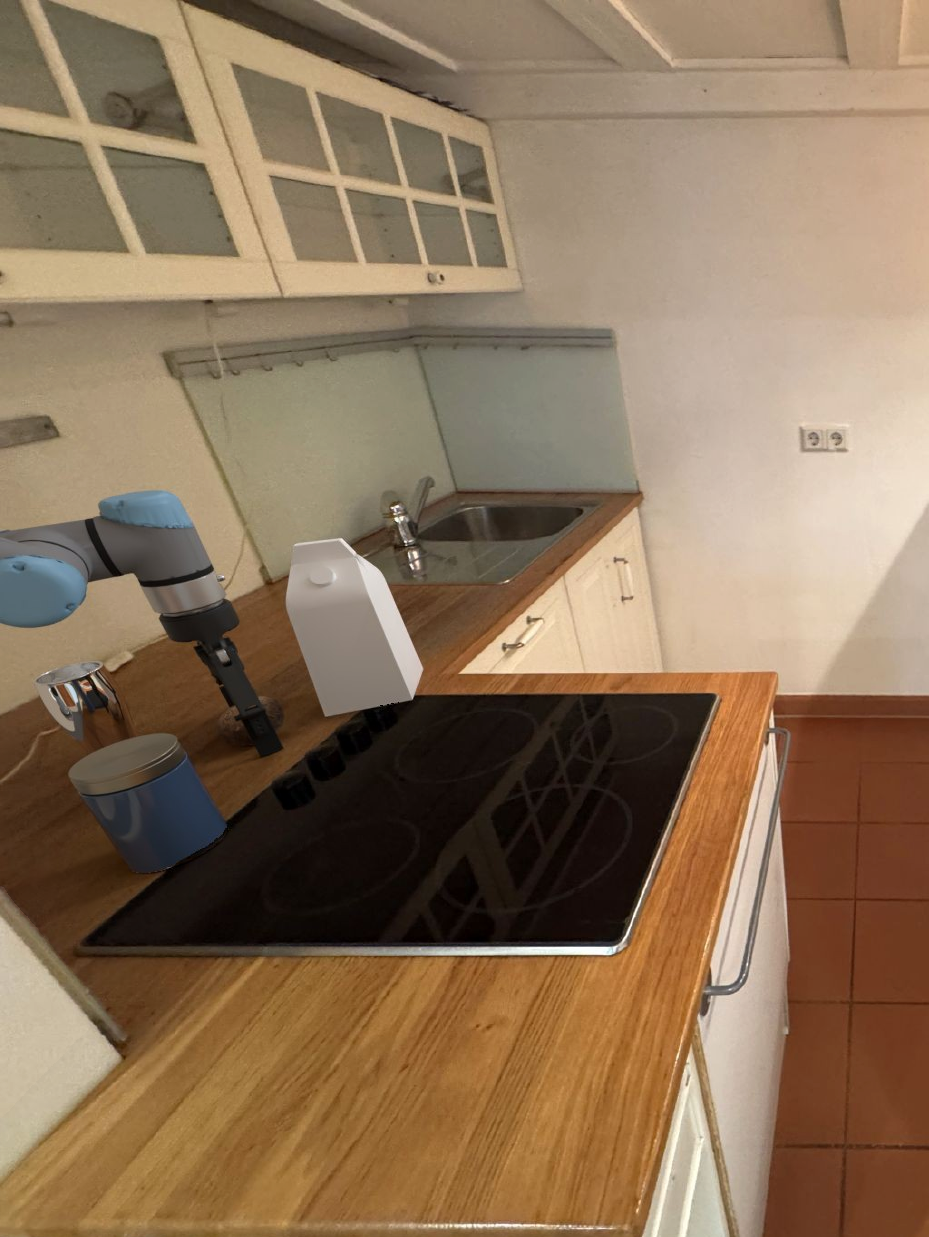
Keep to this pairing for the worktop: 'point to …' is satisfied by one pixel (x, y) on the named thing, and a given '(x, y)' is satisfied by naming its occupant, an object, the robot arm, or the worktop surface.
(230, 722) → the brown potato
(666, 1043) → the worktop surface
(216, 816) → the jar
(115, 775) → the jar lid
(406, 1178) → the worktop surface
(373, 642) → the milk
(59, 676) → the shiny silver metal cup
